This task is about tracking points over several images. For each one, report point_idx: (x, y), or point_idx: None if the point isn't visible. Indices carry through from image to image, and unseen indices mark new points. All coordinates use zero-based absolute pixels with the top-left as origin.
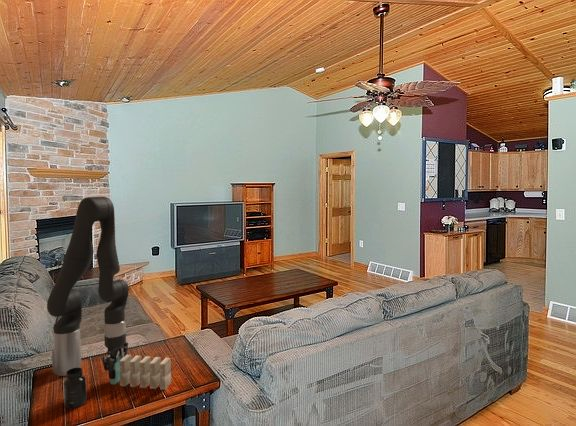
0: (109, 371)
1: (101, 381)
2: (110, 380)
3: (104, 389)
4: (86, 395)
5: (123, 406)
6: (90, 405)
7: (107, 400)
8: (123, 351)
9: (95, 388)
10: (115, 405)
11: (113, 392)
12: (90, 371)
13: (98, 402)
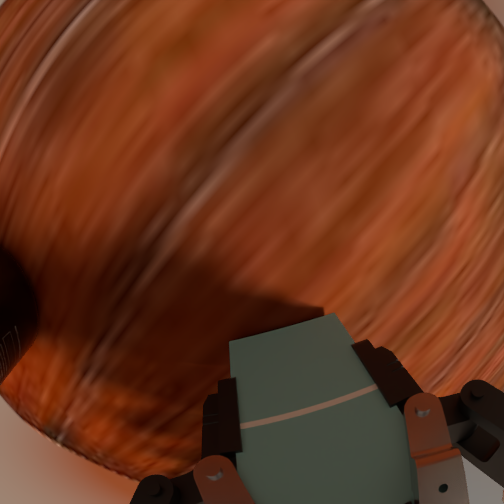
0: (205, 456)
1: (241, 225)
2: (230, 362)
3: (165, 341)
4: (18, 361)
5: (137, 470)
6: (42, 374)
7: (112, 417)
8: (492, 461)
9: (138, 271)
10: (119, 452)
11: (175, 403)
12: (331, 9)
13: (75, 392)
